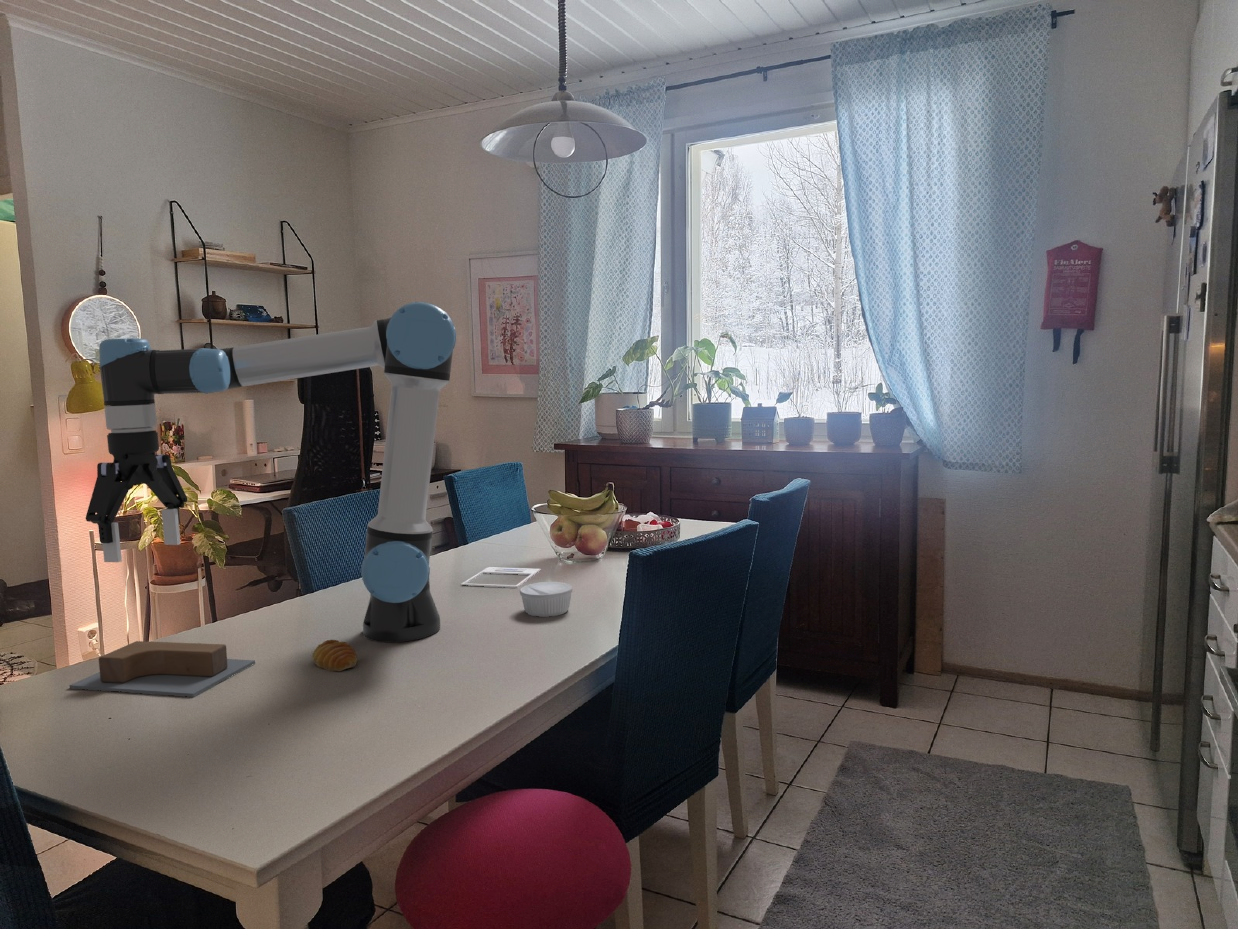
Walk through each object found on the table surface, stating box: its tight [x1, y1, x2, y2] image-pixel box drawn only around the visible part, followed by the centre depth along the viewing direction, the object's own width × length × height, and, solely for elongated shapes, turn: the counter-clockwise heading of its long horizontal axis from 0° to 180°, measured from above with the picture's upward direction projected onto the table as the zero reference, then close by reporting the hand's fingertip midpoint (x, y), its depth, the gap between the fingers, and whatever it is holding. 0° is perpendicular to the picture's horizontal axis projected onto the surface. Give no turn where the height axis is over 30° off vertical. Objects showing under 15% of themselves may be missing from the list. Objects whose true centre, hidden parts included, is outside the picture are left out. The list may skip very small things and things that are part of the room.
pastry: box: [312, 639, 358, 672], centre depth 151 cm, size 9×7×4 cm
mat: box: [69, 658, 256, 698], centre depth 147 cm, size 24×16×1 cm, turn 78°
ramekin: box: [519, 581, 573, 618], centre depth 182 cm, size 11×11×5 cm
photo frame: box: [460, 566, 542, 589], centre depth 213 cm, size 15×1×18 cm
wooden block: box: [98, 640, 228, 683], centre depth 146 cm, size 9×4×18 cm
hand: (144, 553), depth 146 cm, fingers open, 13 cm apart
